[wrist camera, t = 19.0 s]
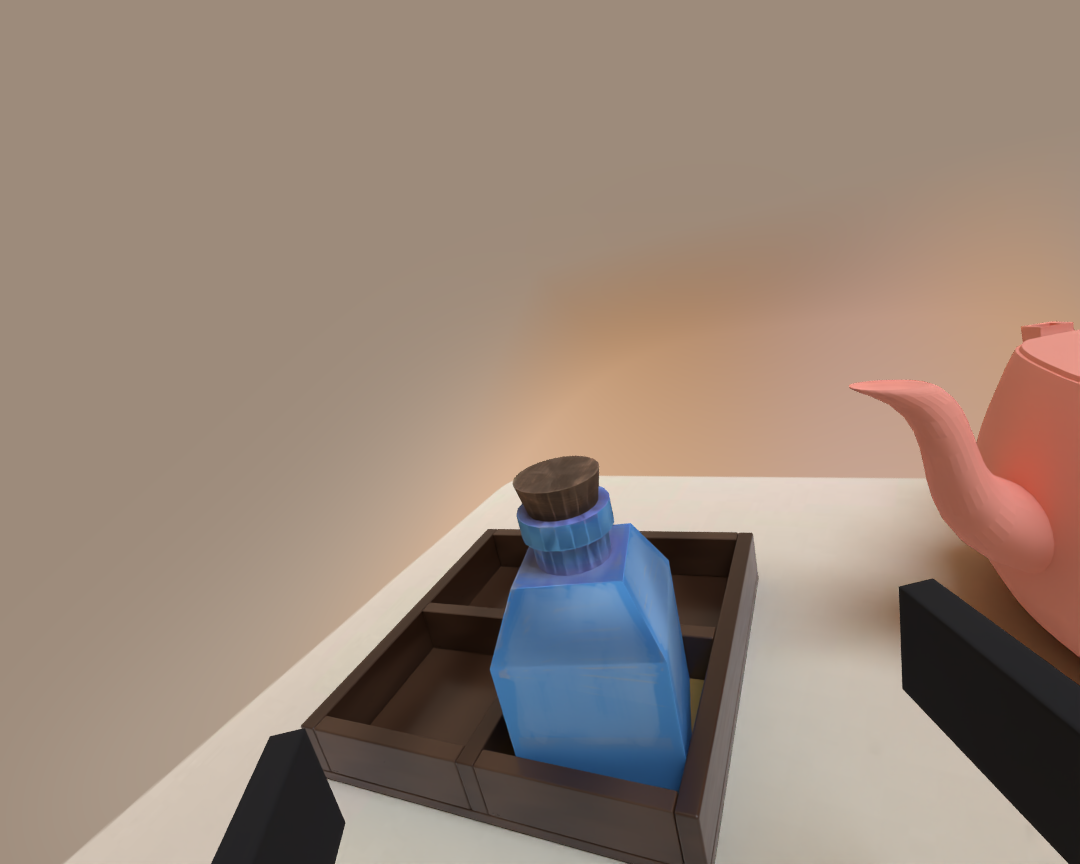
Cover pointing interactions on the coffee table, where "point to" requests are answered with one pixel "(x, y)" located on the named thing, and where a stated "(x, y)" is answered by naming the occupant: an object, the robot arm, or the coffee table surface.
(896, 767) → the coffee table surface
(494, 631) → the wooden compartment tray
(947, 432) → the teapot
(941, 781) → the coffee table surface
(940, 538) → the coffee table surface
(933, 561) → the coffee table surface
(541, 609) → the perfume bottle
